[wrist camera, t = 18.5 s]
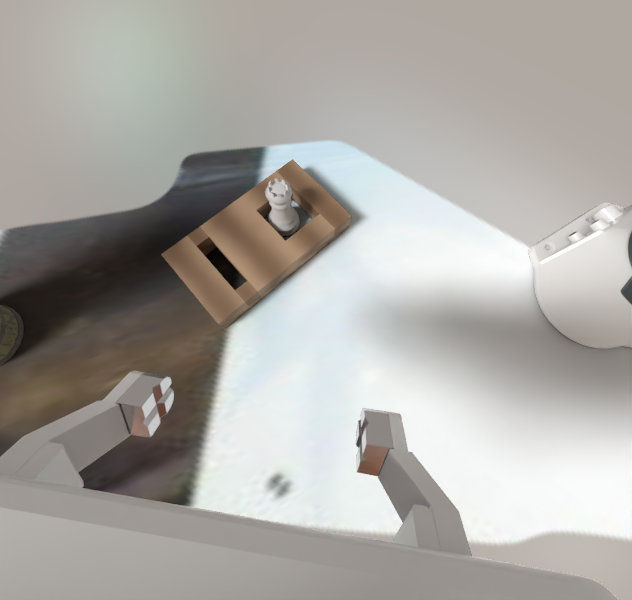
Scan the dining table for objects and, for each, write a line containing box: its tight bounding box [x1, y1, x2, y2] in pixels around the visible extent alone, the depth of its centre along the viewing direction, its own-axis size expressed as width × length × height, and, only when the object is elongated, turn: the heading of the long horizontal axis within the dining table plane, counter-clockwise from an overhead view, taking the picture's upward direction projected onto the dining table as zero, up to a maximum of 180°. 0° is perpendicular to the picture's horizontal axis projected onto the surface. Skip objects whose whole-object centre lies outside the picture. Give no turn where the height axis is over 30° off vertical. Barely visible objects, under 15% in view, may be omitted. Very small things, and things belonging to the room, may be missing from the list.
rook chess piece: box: [265, 178, 300, 236], centre depth 36 cm, size 4×4×8 cm
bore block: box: [161, 160, 351, 328], centre depth 38 cm, size 22×12×3 cm, turn 132°
